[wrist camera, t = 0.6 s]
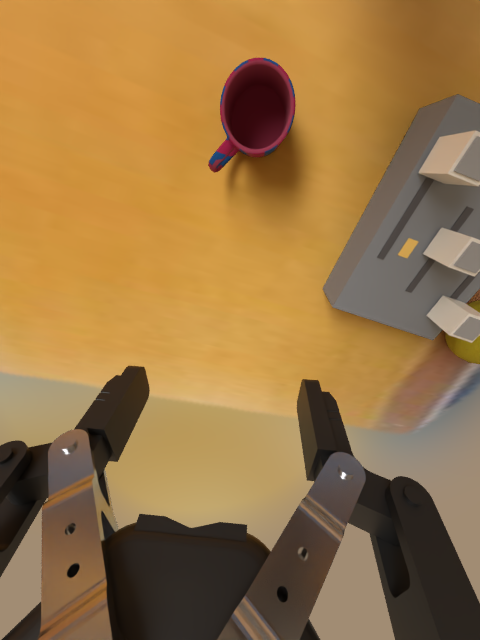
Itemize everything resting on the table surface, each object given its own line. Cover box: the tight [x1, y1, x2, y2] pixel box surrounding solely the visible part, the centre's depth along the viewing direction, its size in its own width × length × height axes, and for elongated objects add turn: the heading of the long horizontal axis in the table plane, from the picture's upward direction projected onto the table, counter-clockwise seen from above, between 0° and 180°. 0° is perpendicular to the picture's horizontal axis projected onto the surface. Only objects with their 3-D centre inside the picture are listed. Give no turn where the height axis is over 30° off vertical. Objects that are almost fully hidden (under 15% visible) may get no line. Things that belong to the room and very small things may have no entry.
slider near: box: [418, 130, 480, 186], centre depth 22 cm, size 3×3×5 cm
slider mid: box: [423, 228, 480, 277], centre depth 26 cm, size 3×3×5 cm
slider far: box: [426, 295, 480, 343], centre depth 30 cm, size 3×3×5 cm
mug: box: [208, 58, 295, 172], centre depth 26 cm, size 7×10×7 cm
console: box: [323, 94, 480, 340], centre depth 31 cm, size 22×15×6 cm
